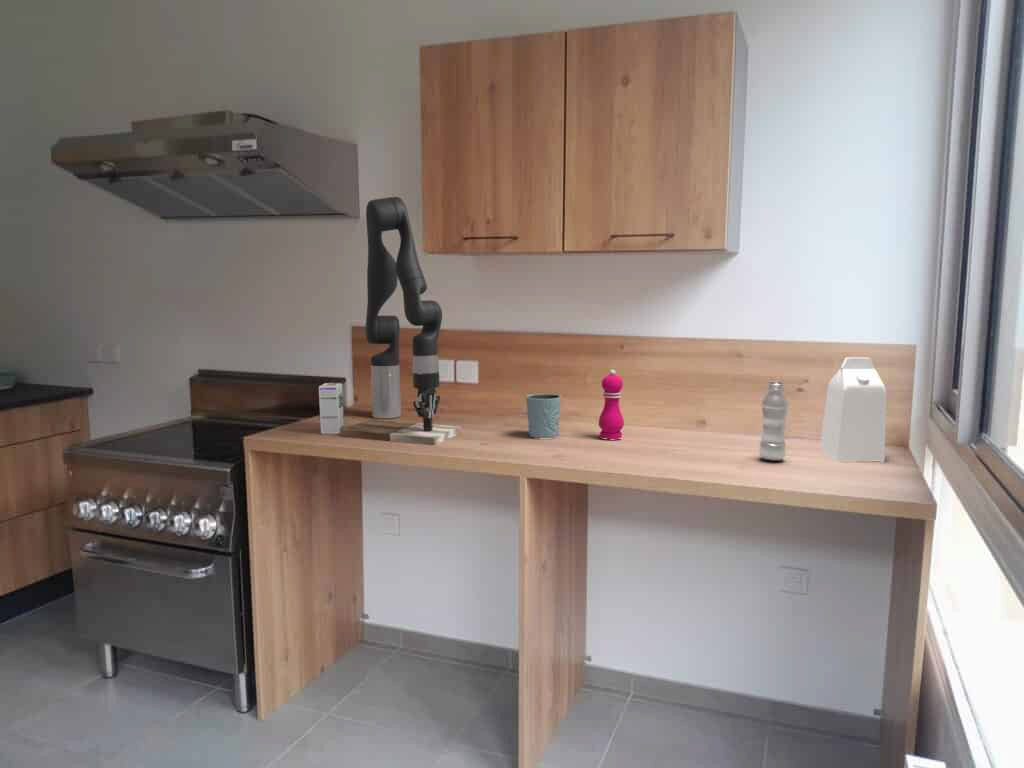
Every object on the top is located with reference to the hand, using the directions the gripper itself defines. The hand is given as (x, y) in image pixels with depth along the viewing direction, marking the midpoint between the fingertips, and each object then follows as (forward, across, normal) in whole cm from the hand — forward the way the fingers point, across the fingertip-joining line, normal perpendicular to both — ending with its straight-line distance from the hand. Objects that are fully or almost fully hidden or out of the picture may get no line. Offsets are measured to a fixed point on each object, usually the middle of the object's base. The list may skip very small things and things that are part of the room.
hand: (428, 430), depth 217 cm
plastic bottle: (+5, -8, +94) cm, 94 cm away
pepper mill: (+4, -19, +49) cm, 53 cm away
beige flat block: (+2, -1, -1) cm, 2 cm away
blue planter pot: (+3, -14, +30) cm, 33 cm away
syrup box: (+1, +4, -30) cm, 30 cm away
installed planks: (+2, -1, -16) cm, 16 cm away
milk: (+6, -20, +113) cm, 115 cm away
